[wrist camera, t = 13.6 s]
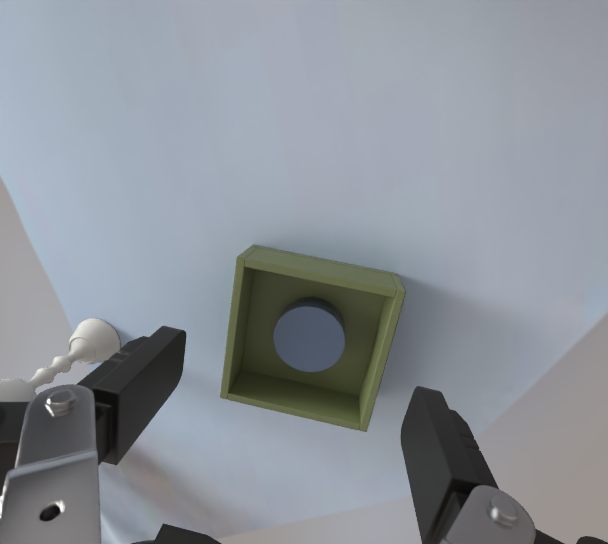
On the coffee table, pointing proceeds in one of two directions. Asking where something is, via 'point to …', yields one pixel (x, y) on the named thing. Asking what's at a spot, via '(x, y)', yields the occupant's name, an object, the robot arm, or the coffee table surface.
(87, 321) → the chalice
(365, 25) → the coffee table surface
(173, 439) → the coffee table surface
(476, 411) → the coffee table surface
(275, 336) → the blue round puck
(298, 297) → the tub
